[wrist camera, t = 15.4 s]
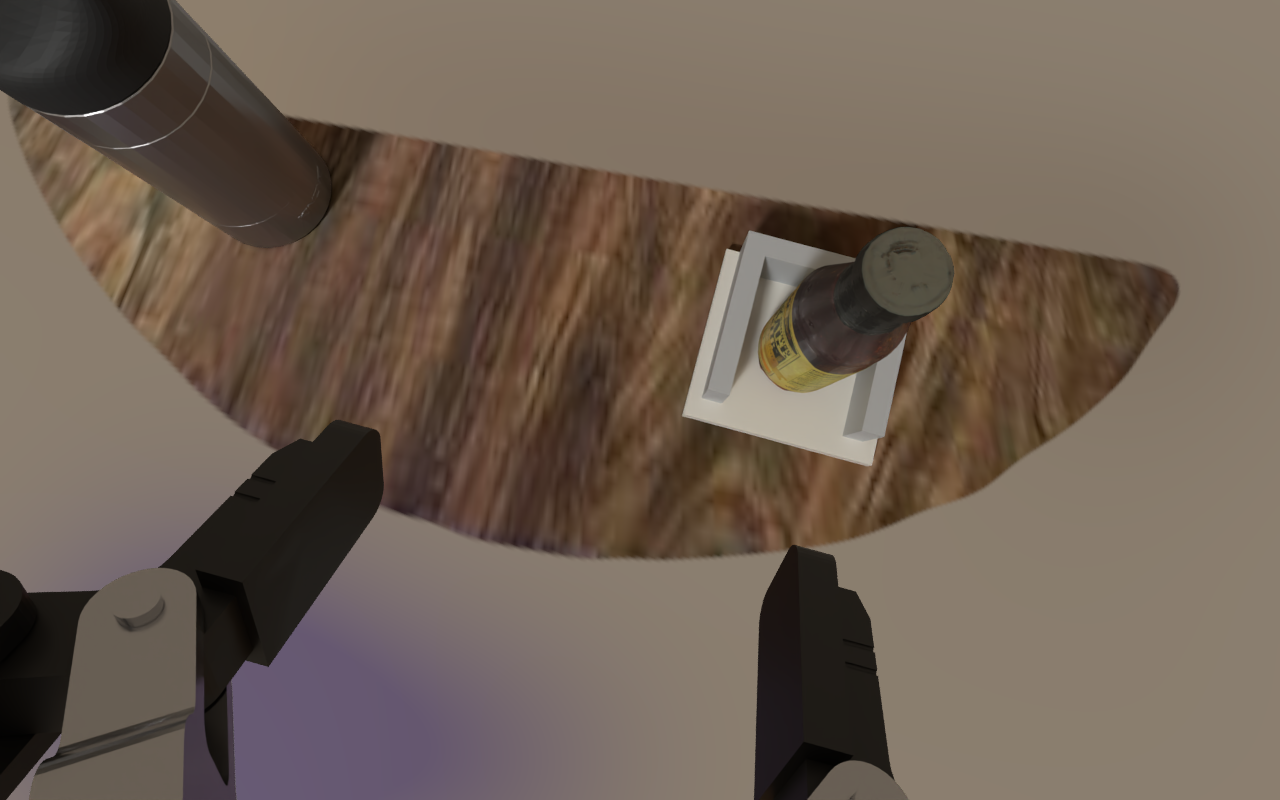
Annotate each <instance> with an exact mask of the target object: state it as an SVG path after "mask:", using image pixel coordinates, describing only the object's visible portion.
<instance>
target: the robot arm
mask: <svg viewBox="0 0 1280 800" xmlns="http://www.w3.org/2000/svg"><path fill="white" fill-rule="evenodd" d="M0 90H1V91H3V92H4V93H6V94H7V95H9V96H11V97H12V98H14V99H15V100H17V101H19V102H20V103H22V104H24V105H26V106H27V107H29V108H30V109H32V110H33V111H35V112H36V113H38V114H40V115H41V116H43V117H44V118H46V119H47V120H49V121H51V122H52V123H54V124H55V125H57V126H58V127H60V128H62V129H63V130H65V131H66V132H68V133H69V134H71V135H73V136H74V137H76V138H77V139H79V140H81V141H83V142H84V143H86V144H87V145H89V146H90V147H92V148H94V149H95V150H97V151H98V152H100V153H101V154H103V155H105V156H106V157H108V158H109V159H111V160H112V161H114V162H115V163H117V164H119V165H120V166H122V167H123V168H125V169H126V170H128V171H130V172H131V173H133V174H134V175H136V176H137V177H139V178H141V179H142V180H144V181H145V182H147V183H148V184H150V185H152V186H153V187H155V188H156V189H158V190H159V191H161V192H163V193H164V194H166V195H167V196H169V197H170V198H172V199H173V200H175V201H177V202H178V203H180V204H181V205H183V206H184V207H186V208H188V209H189V210H191V211H192V212H194V213H195V214H197V215H198V216H200V217H201V218H203V219H204V220H206V221H208V222H209V223H211V224H212V225H214V226H215V227H217V228H219V229H220V230H222V231H223V232H225V233H227V234H228V235H230V236H231V237H233V238H235V239H236V240H238V241H240V242H242V243H244V244H247V245H251V246H254V247H263V248H272V247H280V246H284V245H287V244H290V243H293V242H295V241H297V240H299V239H300V238H302V237H304V236H306V235H307V234H308V233H309V232H310V231H311V230H312V229H314V228H315V227H316V225H317V224H318V223H319V222H320V220H321V219H322V218H323V216H324V214H325V212H326V210H327V208H328V205H329V201H330V197H331V178H330V173H329V170H328V168H327V166H326V164H325V162H324V160H323V159H322V157H321V156H320V155H319V154H318V152H317V151H316V150H315V149H314V148H313V147H312V146H311V145H310V144H309V143H308V142H307V141H306V139H305V138H304V137H303V136H302V135H301V134H300V133H299V132H298V131H297V130H296V129H295V128H294V126H293V125H292V124H291V123H290V122H289V121H288V120H287V119H286V118H285V117H284V115H283V114H282V113H281V112H280V111H279V110H278V109H277V108H276V107H275V106H274V105H273V104H272V103H271V102H270V101H269V99H268V98H267V97H266V96H265V95H264V94H263V93H262V92H261V91H260V90H259V89H258V88H257V87H256V86H255V85H254V83H253V82H252V81H251V80H250V79H249V78H248V77H247V76H246V75H245V74H244V73H243V72H242V71H241V70H240V69H239V67H238V66H237V65H236V64H235V63H234V62H233V61H232V60H231V59H230V58H229V57H228V56H227V55H226V53H225V52H223V50H222V49H221V48H220V47H219V46H218V45H217V44H216V43H215V42H214V41H213V40H212V38H211V37H210V36H209V35H208V34H207V33H206V32H205V31H204V30H203V29H202V28H201V27H200V26H199V25H198V24H197V23H196V22H195V21H194V20H193V19H192V17H191V16H190V15H189V14H188V13H187V12H186V11H185V10H184V9H183V8H182V7H181V6H180V5H179V3H177V1H176V0H0ZM383 489H384V481H383V468H382V454H381V441H380V434H379V432H378V431H377V430H374V429H371V428H367V427H363V426H360V425H356V424H352V423H349V422H345V421H341V420H335V421H333V422H332V423H330V424H329V425H328V426H327V427H326V428H325V429H324V430H323V432H322V433H321V434H320V435H319V436H318V437H317V438H316V439H315V440H314V441H313V442H311V441H307V440H303V439H299V440H297V441H295V442H293V443H291V444H289V445H288V446H286V447H284V448H282V449H280V450H278V451H276V452H274V453H273V454H271V456H269V457H268V458H267V459H266V460H265V461H264V462H263V463H262V464H261V465H260V467H259V468H258V469H257V470H256V471H255V472H254V473H253V474H252V476H251V478H250V479H247V480H246V481H245V482H244V483H243V484H242V485H241V486H240V487H239V488H238V489H237V490H236V491H235V494H234V496H230V497H229V498H228V499H227V500H226V501H225V502H224V503H223V504H222V505H221V506H220V507H219V509H217V510H216V511H215V512H214V513H213V514H212V515H211V516H210V517H209V518H208V519H207V521H205V523H203V525H202V526H201V527H200V528H199V529H198V530H197V531H196V532H195V533H194V534H193V535H192V536H191V537H190V538H189V539H188V540H187V541H186V542H185V543H184V544H183V545H182V546H181V547H180V548H179V549H178V550H177V551H176V552H175V553H174V554H173V555H172V556H171V557H170V558H169V559H168V560H167V561H166V562H165V563H163V564H162V565H161V566H160V567H158V568H151V569H145V570H140V571H137V572H133V573H130V574H128V575H125V576H122V577H120V578H118V579H116V580H114V581H113V582H111V583H109V584H108V585H106V586H105V587H103V588H102V589H101V590H98V591H80V592H79V591H78V592H39V593H38V592H37V593H27V592H26V590H25V589H24V587H23V586H22V584H21V583H20V581H19V580H18V579H17V578H16V577H15V576H14V575H12V574H10V573H8V572H5V571H2V570H0V800H6V799H7V798H8V797H9V796H10V794H11V793H12V792H13V791H14V790H15V788H16V787H17V786H18V785H19V784H20V782H21V781H22V780H23V779H24V778H25V776H26V775H27V774H28V773H29V771H30V770H31V769H32V768H33V767H34V765H35V764H36V763H37V762H38V760H39V759H40V758H41V757H42V756H43V754H44V753H45V752H46V751H47V750H48V749H49V747H50V746H51V745H52V744H53V742H54V741H55V740H56V739H57V738H58V736H59V735H60V734H61V733H62V734H61V740H60V745H59V749H58V751H57V753H56V755H55V756H54V757H51V758H48V759H46V760H44V761H43V762H42V763H41V764H40V766H39V767H38V769H37V771H36V773H35V776H34V779H33V782H32V786H31V791H30V796H29V800H237V799H236V785H235V757H234V726H233V696H232V682H231V679H232V678H233V677H234V675H235V674H236V673H237V671H238V670H239V668H240V667H241V666H242V664H243V663H244V662H245V660H246V661H250V662H253V663H257V664H260V665H264V666H268V667H269V665H270V664H271V662H272V661H273V660H274V658H275V657H276V655H277V654H278V652H279V651H280V650H281V648H282V647H283V645H284V644H285V642H286V641H287V640H288V638H289V637H290V635H291V634H292V632H293V631H294V629H295V628H296V627H297V625H298V624H299V622H300V621H301V620H302V618H303V617H304V615H305V613H306V612H307V611H308V610H309V608H310V607H311V605H312V604H313V603H314V601H315V600H316V598H317V597H318V595H319V594H320V592H321V591H322V590H323V588H324V587H325V585H326V584H327V583H328V581H329V580H330V578H331V577H332V575H333V574H334V573H335V571H336V570H337V568H338V567H339V565H340V564H341V562H342V561H343V560H344V558H345V557H346V555H347V554H348V553H349V551H350V550H351V548H352V547H353V545H354V544H355V543H356V541H357V540H358V538H359V537H360V535H361V534H362V533H363V531H364V530H365V528H366V527H367V525H368V524H369V523H370V521H371V520H372V518H373V517H374V515H375V513H376V512H377V509H378V507H379V505H380V502H381V499H382V495H383ZM758 647H759V648H758V681H757V683H758V684H757V716H756V750H755V752H756V753H755V787H754V800H908V798H907V796H906V795H905V793H904V792H903V790H902V789H901V788H900V786H899V785H898V784H897V783H896V782H895V780H894V777H893V774H892V772H891V767H890V762H889V755H888V747H887V740H886V733H885V725H884V719H883V710H882V703H881V696H880V688H879V681H878V676H876V671H877V665H876V658H875V653H874V652H873V648H874V643H873V636H872V628H871V621H870V618H869V616H868V614H867V612H866V610H865V608H864V606H863V604H862V603H861V600H860V599H859V597H858V595H857V593H856V592H855V591H852V590H848V589H844V588H840V587H838V579H837V568H836V561H835V558H834V556H833V555H830V554H826V553H822V552H818V551H815V550H811V549H808V548H804V547H800V546H797V545H792V546H791V547H790V549H789V550H788V552H787V554H786V556H785V558H784V560H783V562H782V563H781V565H780V567H779V569H778V571H777V573H776V575H775V577H774V579H773V580H772V582H771V584H770V586H769V588H768V590H767V592H766V595H765V597H764V600H763V604H762V608H761V613H760V620H759V646H758Z"/></svg>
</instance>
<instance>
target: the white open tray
mask: <svg viewBox="0 0 1280 800" xmlns="http://www.w3.org/2000/svg"><path fill="white" fill-rule="evenodd" d="M855 259H856V258H852V257H848V256H844V255H841V254H837V253H833V252H829V251H825V250H822V249H818V248H814V247H810V246H806V245H802V244H799V243H795V242H791V241H787V240H783V239H779V238H776V237H772V236H768V235H764V234H760V233H757V232H753V231H749V232H748V235H747V237H746V239H745V241H744V244H743V246H742V248H741V251H740V252H737V251H733V250H729V249H727V250H726V252H725V256H724V259H723V263H722V267H721V271H720V275H719V278H718V282H717V286H716V290H715V293H714V297H713V301H712V305H711V308H710V312H709V316H708V320H707V324H706V327H705V331H704V335H703V339H702V342H701V346H700V350H699V354H698V357H697V361H696V365H695V369H694V373H693V376H692V380H691V384H690V388H689V391H688V395H687V399H686V403H685V407H684V410H683V414H682V416H684V417H688V418H692V419H695V420H699V421H703V422H706V423H710V424H714V425H717V426H721V427H725V428H728V429H732V430H736V431H739V432H743V433H747V434H750V435H754V436H758V437H762V438H765V439H769V440H773V441H776V442H780V443H784V444H787V445H791V446H795V447H798V448H802V449H806V450H809V451H813V452H817V453H820V454H824V455H828V456H832V457H835V458H839V459H843V460H846V461H850V462H854V463H857V464H861V465H865V466H872V462H873V457H874V453H875V448H876V444H877V439H878V438H881V437H884V435H885V431H886V426H887V421H888V417H889V412H890V408H891V403H892V398H893V394H894V389H895V385H896V380H897V375H898V371H899V366H900V362H901V357H902V352H903V348H904V343H905V339H906V334H907V333H906V334H905V336H904V338H903V340H902V341H901V343H900V344H899V345H898V346H897V348H895V349H894V350H893V351H892V353H891V354H889V355H888V356H887V357H885V358H883V359H882V360H880V361H879V362H876V363H874V364H873V365H871V366H870V367H868V368H866V369H864V370H862V371H860V372H858V373H855V374H853V375H851V376H848V377H846V378H844V379H842V380H839V381H837V382H835V383H833V384H831V385H828V386H826V387H824V388H821V389H819V390H816V391H813V392H807V393H799V392H793V391H786V390H783V389H781V388H779V387H778V386H777V385H775V384H774V383H773V382H772V381H771V380H769V378H768V377H767V376H766V375H765V373H764V371H763V370H762V369H761V368H760V365H759V358H758V342H759V338H760V335H761V332H762V330H763V328H764V326H765V325H766V323H767V322H768V321H769V319H770V318H771V317H772V316H773V315H774V314H775V312H776V311H777V310H778V309H779V308H780V306H781V305H782V304H783V303H784V302H785V301H786V299H787V298H788V297H789V296H790V294H791V293H792V292H793V291H794V290H795V289H796V288H797V287H798V286H799V284H800V283H801V282H802V281H803V280H804V279H805V278H806V277H807V276H808V275H809V274H810V273H811V272H813V271H814V270H816V269H818V268H820V267H823V266H827V265H833V264H841V263H848V262H855Z"/></svg>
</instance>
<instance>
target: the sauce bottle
mask: <svg viewBox="0 0 1280 800" xmlns="http://www.w3.org/2000/svg"><path fill="white" fill-rule="evenodd" d="M953 277H954V266H953V262H952V259H951V256H950V255H949V253H948V252H947V250H946V248H945V247H944V245H943V244H942V243H941V242H940V240H939V239H937V238H936V237H935V236H933V235H932V234H930V233H928V232H926V231H923V230H921V229H918V228H912V227H898V228H894V229H891V230H888V231H886V232H884V233H881V234H879V235H877V236H876V237H875V238H874V239H872V240H871V241H870V242H868V243H867V244H866V245H865V246H864V247H863V248H862V250H861V251H860V252H859V254H858V255H857V257H856V259H855V262H848V263H841V264H833V265H827V266H823V267H820V268H818V269H816V270H814V271H813V272H811V273H810V274H809V275H808V276H807V277H806V278H805V279H804V280H803V281H802V282H801V283H800V284H799V286H798V287H797V288H796V289H795V290H794V291H793V292H792V293H791V294H790V296H789V297H788V298H787V299H786V301H785V302H784V303H783V304H782V305H781V306H780V308H779V309H778V310H777V311H776V312H775V314H774V315H773V316H772V317H771V318H770V319H769V321H768V322H767V323H766V325H765V326H764V328H763V330H762V332H761V335H760V338H759V342H758V358H759V365H760V368H761V369H762V370H763V371H764V373H765V375H766V376H767V377H768V378H769V380H771V381H772V382H773V383H774V384H775V385H777V386H778V387H779V388H781V389H783V390H786V391H793V392H799V393H807V392H813V391H816V390H819V389H821V388H824V387H826V386H828V385H831V384H833V383H835V382H837V381H839V380H842V379H844V378H846V377H848V376H851V375H853V374H855V373H858V372H860V371H862V370H864V369H866V368H868V367H870V366H871V365H873V364H874V363H876V362H879V361H880V360H882V359H883V358H885V357H887V356H888V355H889V354H891V353H892V351H893V350H894V349H895V348H897V346H898V345H899V344H900V343H901V341H902V340H903V338H904V336H905V334H906V333H907V332H908V328H909V326H910V324H911V322H913V321H916V320H918V319H920V318H922V317H924V316H926V315H927V314H929V313H930V312H932V311H933V310H935V309H936V308H938V307H939V306H940V305H941V304H942V303H943V302H944V300H945V299H946V298H947V296H948V294H949V292H950V290H951V287H952V282H953Z"/></svg>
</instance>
